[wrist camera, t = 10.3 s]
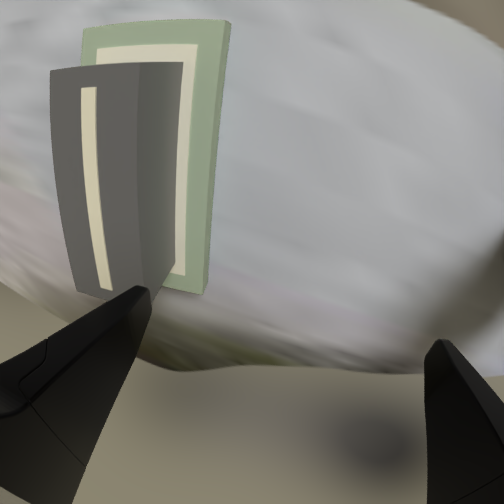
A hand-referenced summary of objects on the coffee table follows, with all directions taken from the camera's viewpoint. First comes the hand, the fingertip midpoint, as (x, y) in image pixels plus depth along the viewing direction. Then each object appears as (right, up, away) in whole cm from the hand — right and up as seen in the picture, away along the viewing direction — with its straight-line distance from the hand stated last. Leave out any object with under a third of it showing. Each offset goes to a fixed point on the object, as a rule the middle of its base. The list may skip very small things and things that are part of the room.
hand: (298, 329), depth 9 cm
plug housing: (-8, +7, +9) cm, 14 cm away
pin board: (-8, +8, +11) cm, 16 cm away
